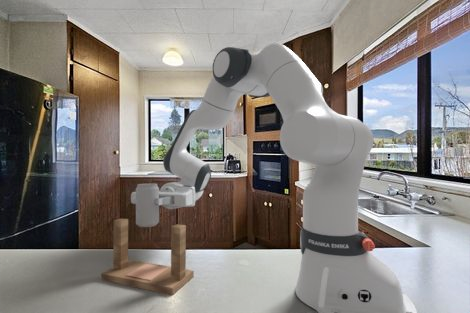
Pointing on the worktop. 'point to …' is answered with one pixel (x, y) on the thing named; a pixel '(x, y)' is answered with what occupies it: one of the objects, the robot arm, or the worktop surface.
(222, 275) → the worktop surface
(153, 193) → the beverage can
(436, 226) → the worktop surface
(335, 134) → the robot arm
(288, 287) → the worktop surface
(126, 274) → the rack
